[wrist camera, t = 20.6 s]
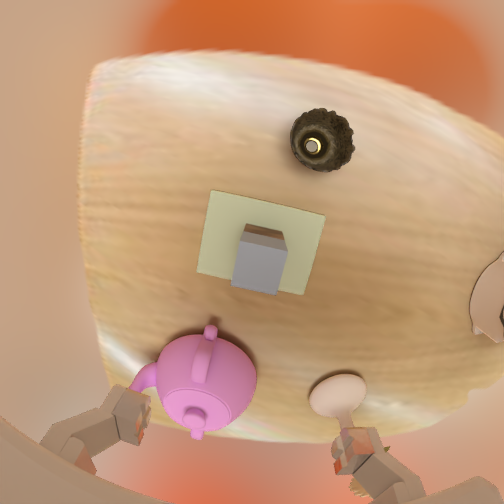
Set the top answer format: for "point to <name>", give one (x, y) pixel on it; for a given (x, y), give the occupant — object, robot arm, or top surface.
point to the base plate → (265, 215)
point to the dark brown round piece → (322, 140)
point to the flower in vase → (341, 406)
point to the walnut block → (264, 231)
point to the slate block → (259, 263)
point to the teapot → (201, 381)
